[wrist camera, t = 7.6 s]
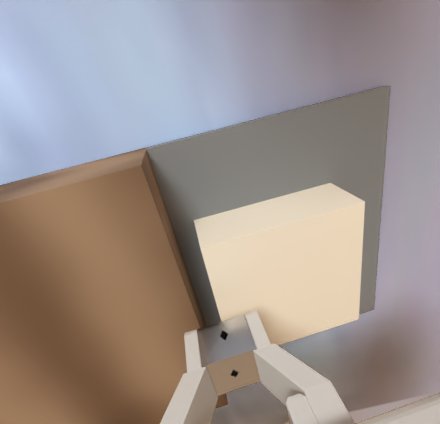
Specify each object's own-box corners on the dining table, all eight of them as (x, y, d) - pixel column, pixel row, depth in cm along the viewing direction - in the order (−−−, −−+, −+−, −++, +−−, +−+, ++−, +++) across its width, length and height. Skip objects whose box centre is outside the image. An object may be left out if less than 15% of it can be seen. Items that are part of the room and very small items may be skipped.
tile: (222, 321, 15) (232, 360, 13) (193, 220, 12) (200, 248, 10) (331, 287, 16) (358, 319, 14) (330, 182, 13) (364, 201, 11)
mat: (217, 355, 17) (219, 361, 17) (146, 147, 11) (145, 149, 11) (369, 305, 18) (374, 309, 18) (383, 86, 12) (390, 86, 12)
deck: (32, 417, 16) (6, 481, 14) (-161, 227, 10) (-279, 276, 7) (217, 355, 17) (227, 404, 15) (146, 147, 11) (141, 165, 8)
